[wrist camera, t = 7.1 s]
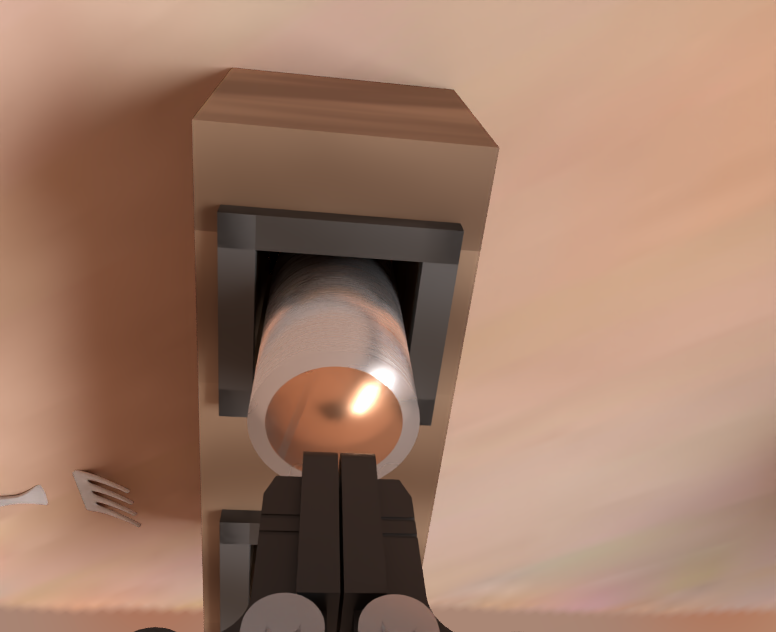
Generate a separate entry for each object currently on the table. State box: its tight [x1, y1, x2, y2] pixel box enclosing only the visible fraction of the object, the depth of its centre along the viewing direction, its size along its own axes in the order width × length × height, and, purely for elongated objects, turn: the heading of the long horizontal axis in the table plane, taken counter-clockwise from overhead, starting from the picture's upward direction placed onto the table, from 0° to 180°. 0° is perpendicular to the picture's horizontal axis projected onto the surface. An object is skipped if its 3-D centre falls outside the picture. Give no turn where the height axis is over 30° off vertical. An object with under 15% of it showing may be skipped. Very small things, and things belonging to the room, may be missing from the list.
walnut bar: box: [192, 68, 499, 632], centre depth 27 cm, size 22×8×9 cm, turn 174°
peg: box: [247, 252, 420, 479], centre depth 20 cm, size 4×4×8 cm
